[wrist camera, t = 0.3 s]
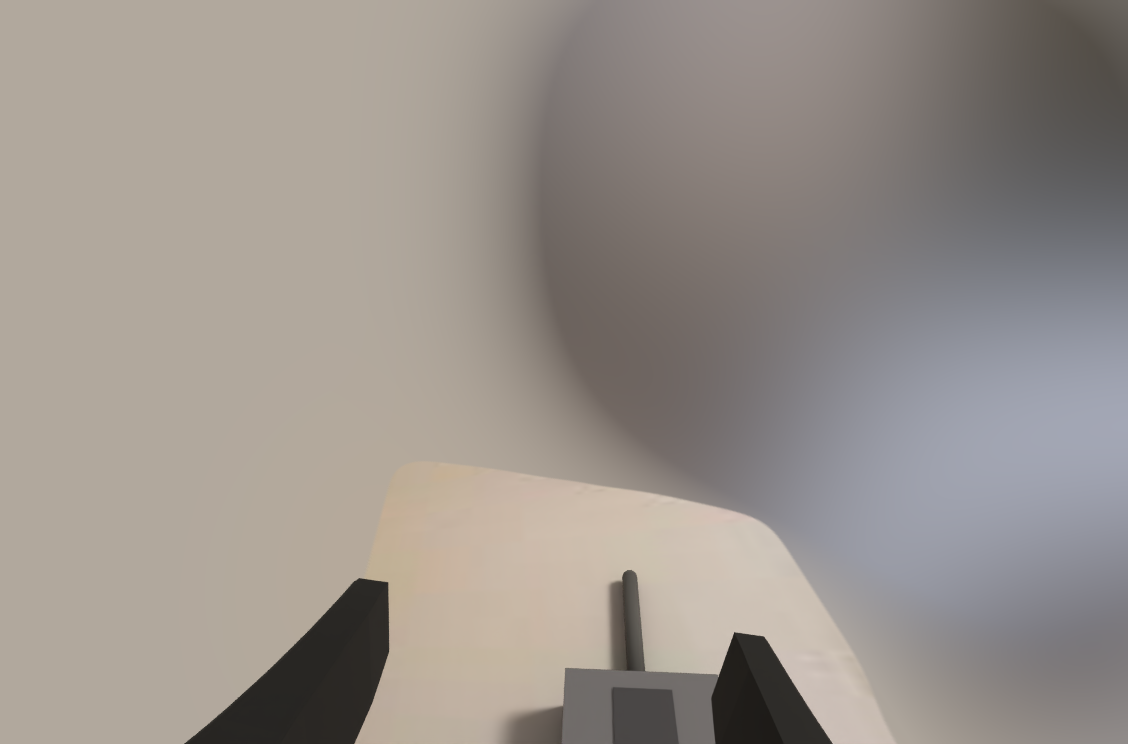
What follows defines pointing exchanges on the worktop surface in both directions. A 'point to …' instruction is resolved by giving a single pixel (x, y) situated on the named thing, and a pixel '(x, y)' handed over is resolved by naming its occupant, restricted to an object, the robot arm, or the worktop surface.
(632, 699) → the power strip
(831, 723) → the worktop surface
